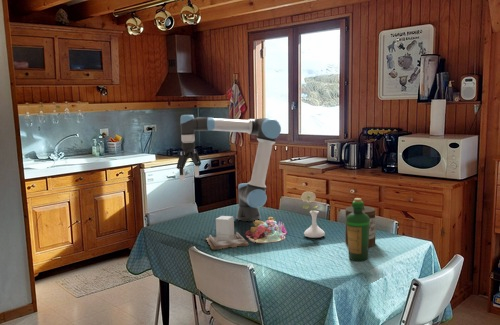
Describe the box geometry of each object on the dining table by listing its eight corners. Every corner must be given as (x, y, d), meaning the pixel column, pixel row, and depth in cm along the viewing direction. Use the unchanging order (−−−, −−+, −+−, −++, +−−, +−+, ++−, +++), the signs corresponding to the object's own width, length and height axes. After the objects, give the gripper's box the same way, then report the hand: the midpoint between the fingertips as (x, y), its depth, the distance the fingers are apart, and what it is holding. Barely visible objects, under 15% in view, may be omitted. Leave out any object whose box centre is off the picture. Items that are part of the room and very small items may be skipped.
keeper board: (239, 236, 259) (239, 230, 259) (248, 245, 242) (248, 239, 241) (205, 240, 254) (205, 234, 254) (212, 249, 237) (211, 243, 236)
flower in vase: (327, 234, 257) (327, 189, 254) (321, 240, 246) (321, 193, 243) (304, 232, 262) (303, 188, 259) (298, 238, 252) (297, 192, 249)
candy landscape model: (238, 234, 265) (237, 218, 264) (275, 228, 275) (275, 212, 273) (256, 245, 243) (256, 228, 241) (296, 239, 252) (296, 222, 251)
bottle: (343, 255, 221) (343, 197, 218) (365, 254, 222) (365, 195, 219) (350, 263, 211) (349, 201, 207) (373, 261, 211) (373, 200, 208)
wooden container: (358, 250, 229) (358, 205, 226) (339, 242, 242) (339, 200, 239) (381, 244, 235) (381, 201, 233) (361, 238, 249) (361, 197, 246)
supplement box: (235, 239, 249) (234, 216, 248) (228, 243, 243) (227, 219, 241) (222, 238, 252) (221, 215, 251) (216, 242, 246) (215, 218, 244)
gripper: (195, 140, 280) (197, 175, 283) (168, 143, 259) (171, 181, 261) (206, 140, 277) (207, 175, 279) (179, 144, 255) (181, 182, 258)
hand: (189, 178), depth 270 cm, fingers open, 13 cm apart
